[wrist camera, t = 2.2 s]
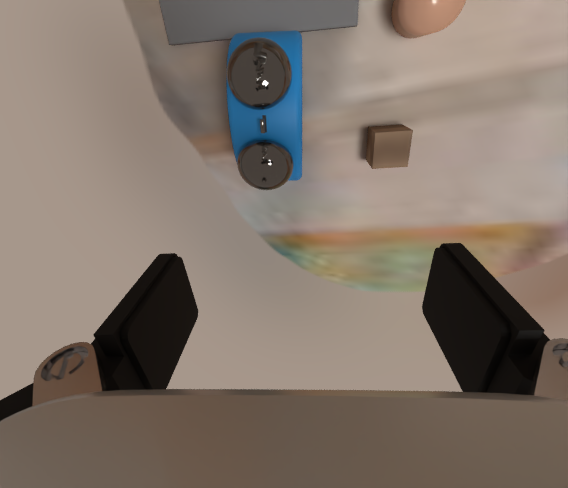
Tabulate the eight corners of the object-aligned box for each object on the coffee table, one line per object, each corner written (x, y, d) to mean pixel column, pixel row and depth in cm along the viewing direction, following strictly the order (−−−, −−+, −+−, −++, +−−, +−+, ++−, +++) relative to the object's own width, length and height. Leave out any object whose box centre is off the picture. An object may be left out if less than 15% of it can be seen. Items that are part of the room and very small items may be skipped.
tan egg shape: (394, -23, 28) (411, -40, 23) (448, -29, 27) (475, -47, 23) (388, 40, 30) (403, 35, 26) (437, 35, 30) (460, 30, 25)
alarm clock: (302, 160, 37) (301, 207, 24) (255, 161, 38) (231, 208, 25) (302, 38, 30) (301, 14, 18) (245, 40, 31) (204, 19, 18)
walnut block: (368, 126, 35) (375, 132, 31) (401, 124, 34) (412, 130, 31) (365, 159, 37) (372, 168, 33) (397, 157, 36) (407, 166, 33)
